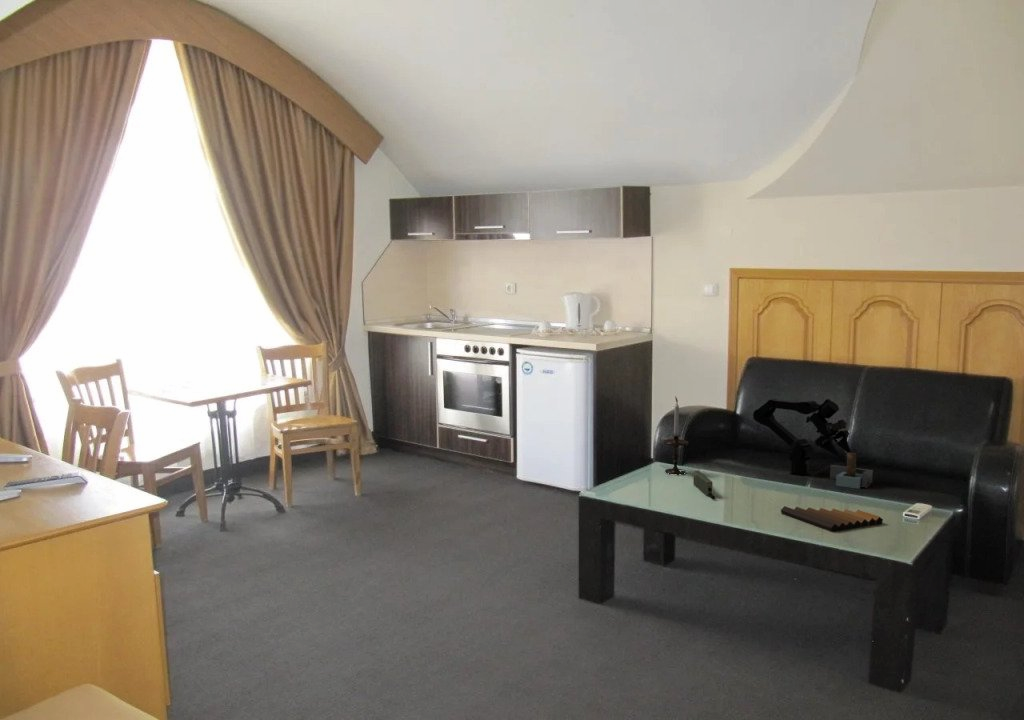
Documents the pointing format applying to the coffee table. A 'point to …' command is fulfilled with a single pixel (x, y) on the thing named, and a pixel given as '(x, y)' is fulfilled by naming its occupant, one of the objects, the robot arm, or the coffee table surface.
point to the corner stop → (865, 473)
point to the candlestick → (675, 443)
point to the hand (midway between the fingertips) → (844, 454)
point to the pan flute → (833, 518)
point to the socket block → (849, 480)
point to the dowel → (851, 464)
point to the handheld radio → (703, 484)
